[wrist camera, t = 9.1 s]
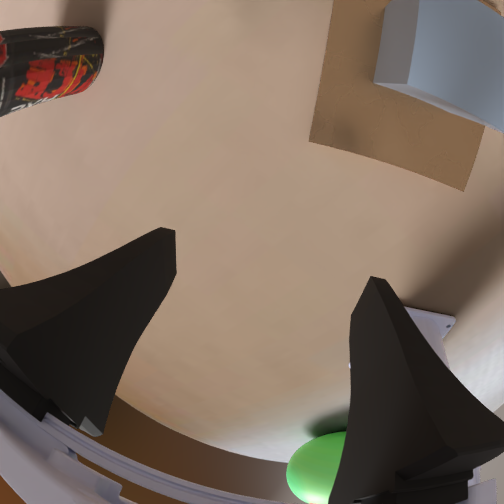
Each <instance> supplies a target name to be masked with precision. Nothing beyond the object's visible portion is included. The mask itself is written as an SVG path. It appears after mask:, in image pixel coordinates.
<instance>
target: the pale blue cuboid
mask: <svg viewBox="0 0 504 504" xmlns="http://www.w3.org/2000/svg"><path fill="white" fill-rule="evenodd" d="M373 83H375V84H378V85H381V86H384V87H387V88H390V89H393V90H396V91H399V92H402V93H404V94H407V95H410V96H412V97H415V98H417V99H420V100H422V101H425V102H427V103H429V104H432V105H434V106H436V107H439V108H441V109H443V110H445V111H447V112H450V113H452V114H455V115H458V116H461V117H464V118H467V119H469V120H472V121H475V122H477V123H480V124H482V125H485V126H487V127H490V128H492V129H494V130H497V131H499V132H501V133H503V134H504V17H502V16H501V15H499V14H498V13H497V12H495V11H494V10H492V9H491V8H489V7H487V6H486V5H484V4H483V3H481V2H480V1H478V0H391V2H390V3H389V4H388V5H387V6H386V7H385V13H384V20H383V28H382V34H381V41H380V47H379V53H378V59H377V64H376V70H375V75H374V80H373Z"/></svg>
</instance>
